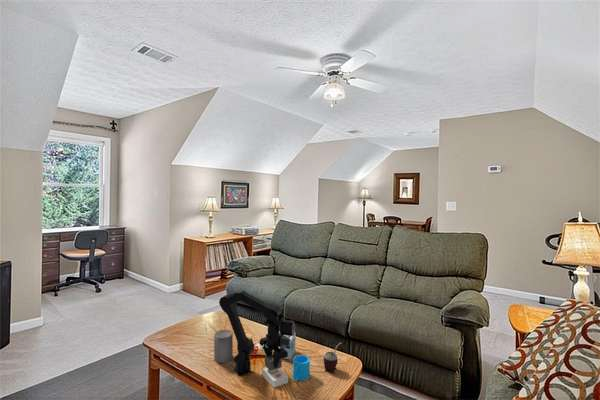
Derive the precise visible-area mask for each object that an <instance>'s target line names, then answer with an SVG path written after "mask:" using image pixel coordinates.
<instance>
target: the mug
mask: <svg viewBox="0 0 600 400" xmlns="http://www.w3.org/2000/svg"><path fill="white" fill-rule="evenodd" d="M310 363H311V359H310V357H309V356H307V355H304V354H299V355H298V354H297V355H295V356H293V357H292V364H293V365H292V368H293V369H292V378H293V380H295V381H306V380H309V378H310V369H311V364H310Z"/></svg>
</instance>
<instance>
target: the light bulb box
mask: <svg viewBox="0 0 600 400" xmlns="http://www.w3.org/2000/svg"><path fill="white" fill-rule="evenodd" d="M284 336H286V337H288V338H289V339H290V342H289V345H288V346H286V345H282V346H281V347H279V349H280V348H284V349H285V350H286V351H287V352H288V357H286V358H282V359H283V360H284V359H286V360H293V358H294V354H295V352H296V337H297V335H296V331H295V333H294V336H288V335H284Z"/></svg>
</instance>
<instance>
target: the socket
mask: <svg viewBox="0 0 600 400" xmlns="http://www.w3.org/2000/svg"><path fill="white" fill-rule="evenodd" d="M261 373H262V374H261V375H262V377H263V378H265V380H266V381H267V382H268V383H269V384H270V385H271V387H272V388H274V389H275V388H277V387H279V386H280V387H281V386H282V385H286V384H288V383H289V376H288V374H286V373H285V371H283V370H282V369H281V368H278V372H277V373H273V374H271V373H270V372H269V371H268V368H267V367H264V368H262V371H261Z"/></svg>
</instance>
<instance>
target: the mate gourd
mask: <svg viewBox="0 0 600 400" xmlns="http://www.w3.org/2000/svg"><path fill="white" fill-rule="evenodd" d="M341 344H343V342H339V343H338V344H336V346H335V349H334V352H333V351H327V352H325V354H324V355H323V365H324V372H329V371H330V372H331V373H332V374H334V373H335V371H334V370H336V369H337V368H336V367H337V365H338V362H339V361H338V356H337V354H336V351H337V349H338V347H339V346H340V345H341Z"/></svg>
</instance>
